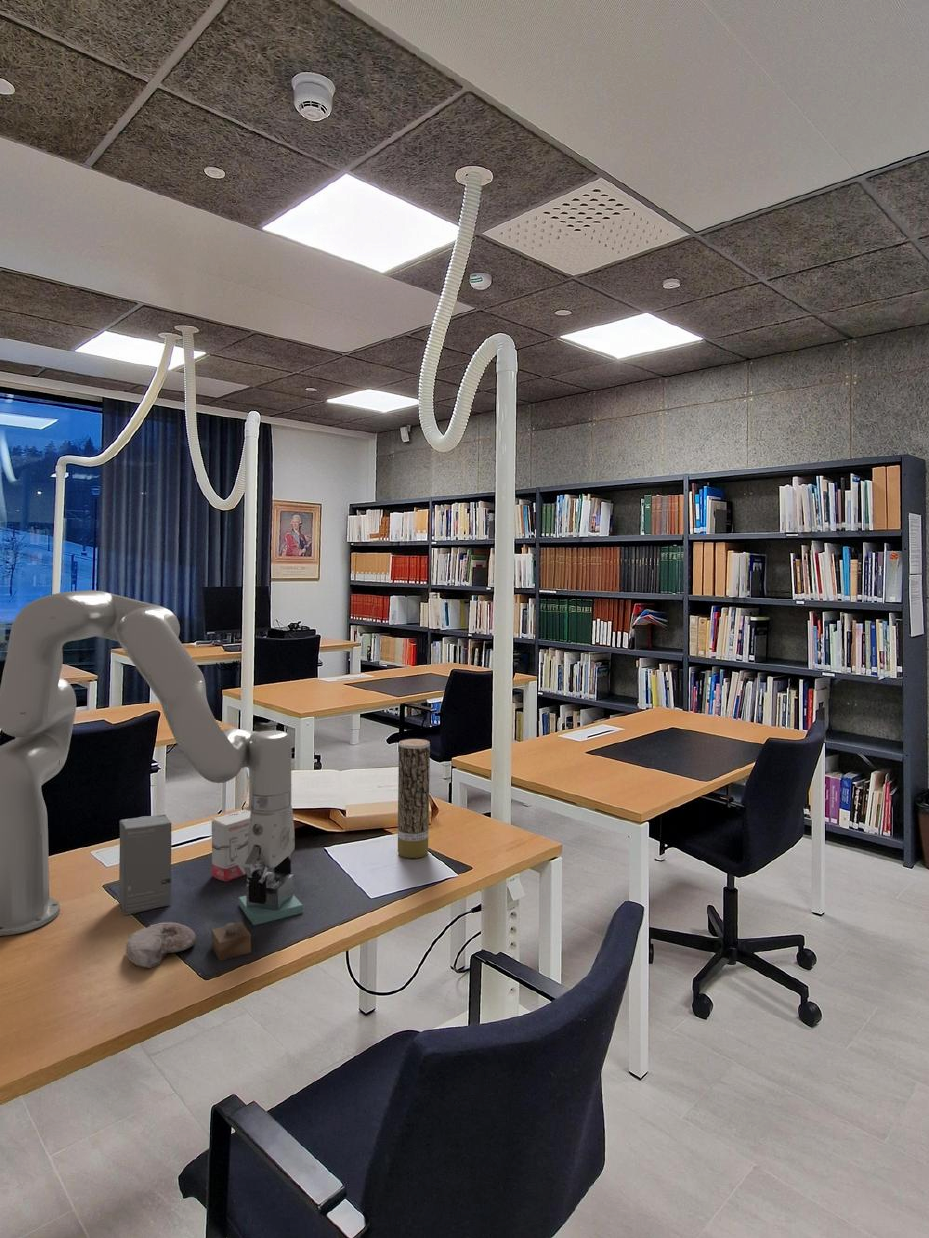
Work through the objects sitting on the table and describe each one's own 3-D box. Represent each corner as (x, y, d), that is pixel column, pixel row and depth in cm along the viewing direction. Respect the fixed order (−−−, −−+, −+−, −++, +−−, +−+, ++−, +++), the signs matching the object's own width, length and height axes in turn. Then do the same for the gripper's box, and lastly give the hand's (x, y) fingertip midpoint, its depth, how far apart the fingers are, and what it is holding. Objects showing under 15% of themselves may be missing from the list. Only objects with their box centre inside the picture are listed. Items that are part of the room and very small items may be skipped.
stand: (219, 960, 115) (219, 935, 115) (211, 946, 119) (211, 922, 119) (250, 952, 118) (250, 927, 118) (242, 938, 122) (241, 914, 122)
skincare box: (124, 916, 129) (122, 830, 128) (118, 901, 135) (116, 818, 134) (173, 905, 133) (173, 822, 132) (166, 890, 139) (165, 810, 138)
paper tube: (434, 852, 160) (436, 741, 159) (416, 862, 155) (417, 748, 153) (409, 845, 164) (411, 737, 162) (391, 855, 158) (392, 743, 157)
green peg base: (253, 925, 127) (253, 889, 126) (238, 904, 134) (238, 870, 134) (302, 912, 132) (302, 878, 131) (285, 893, 139) (285, 860, 139)
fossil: (161, 907, 124) (208, 921, 121) (159, 931, 125) (206, 946, 121) (105, 937, 113) (155, 953, 110) (103, 963, 113) (153, 980, 110)
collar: (278, 910, 129) (278, 888, 129) (246, 906, 130) (246, 885, 130) (293, 895, 135) (293, 874, 135) (262, 891, 136) (262, 871, 136)
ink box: (224, 883, 143) (224, 825, 142) (210, 876, 146) (209, 819, 145) (260, 868, 150) (260, 813, 149) (246, 862, 153) (246, 808, 152)
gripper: (266, 817, 122) (267, 914, 123) (309, 787, 139) (309, 873, 140) (226, 813, 124) (227, 909, 125) (273, 784, 141) (273, 869, 142)
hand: (270, 890), depth 133 cm, fingers open, 9 cm apart
